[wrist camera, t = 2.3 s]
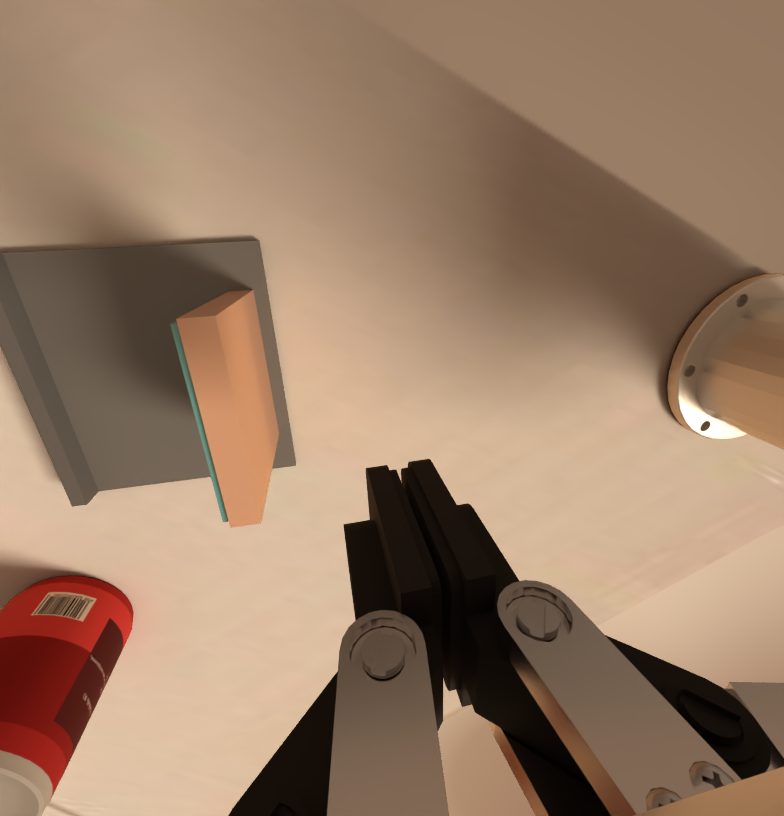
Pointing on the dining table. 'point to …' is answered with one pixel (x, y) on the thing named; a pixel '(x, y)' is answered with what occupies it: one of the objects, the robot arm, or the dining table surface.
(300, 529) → the dining table surface
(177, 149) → the dining table surface
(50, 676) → the canned food
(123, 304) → the mat
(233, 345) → the tile
